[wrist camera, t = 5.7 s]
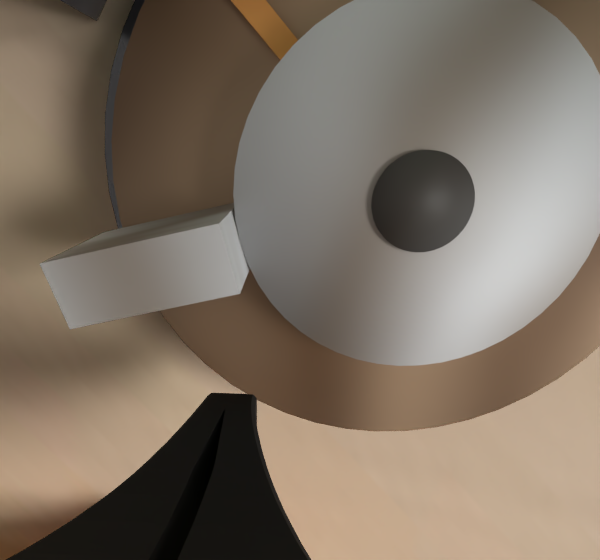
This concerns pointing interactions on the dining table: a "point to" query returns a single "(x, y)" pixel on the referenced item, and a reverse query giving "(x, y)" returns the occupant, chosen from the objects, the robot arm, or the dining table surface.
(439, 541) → the dining table surface
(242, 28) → the turntable
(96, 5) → the dark grey small block
